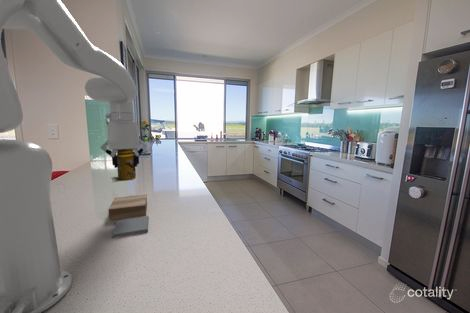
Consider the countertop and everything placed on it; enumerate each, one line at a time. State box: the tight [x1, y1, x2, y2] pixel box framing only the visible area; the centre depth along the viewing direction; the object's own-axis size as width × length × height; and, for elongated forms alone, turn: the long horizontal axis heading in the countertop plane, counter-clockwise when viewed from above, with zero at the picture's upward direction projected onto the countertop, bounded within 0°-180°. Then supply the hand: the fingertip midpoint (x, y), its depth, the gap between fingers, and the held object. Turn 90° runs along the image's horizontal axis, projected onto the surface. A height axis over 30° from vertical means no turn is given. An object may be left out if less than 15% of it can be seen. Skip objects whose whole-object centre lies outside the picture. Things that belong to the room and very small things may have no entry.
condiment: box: [110, 149, 139, 183], centre depth 78 cm, size 7×8×12 cm
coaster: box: [111, 215, 150, 238], centre depth 70 cm, size 10×10×1 cm
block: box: [108, 194, 148, 221], centre depth 82 cm, size 12×12×4 cm
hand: (126, 166), depth 79 cm, fingers closed on condiment, 6 cm apart
